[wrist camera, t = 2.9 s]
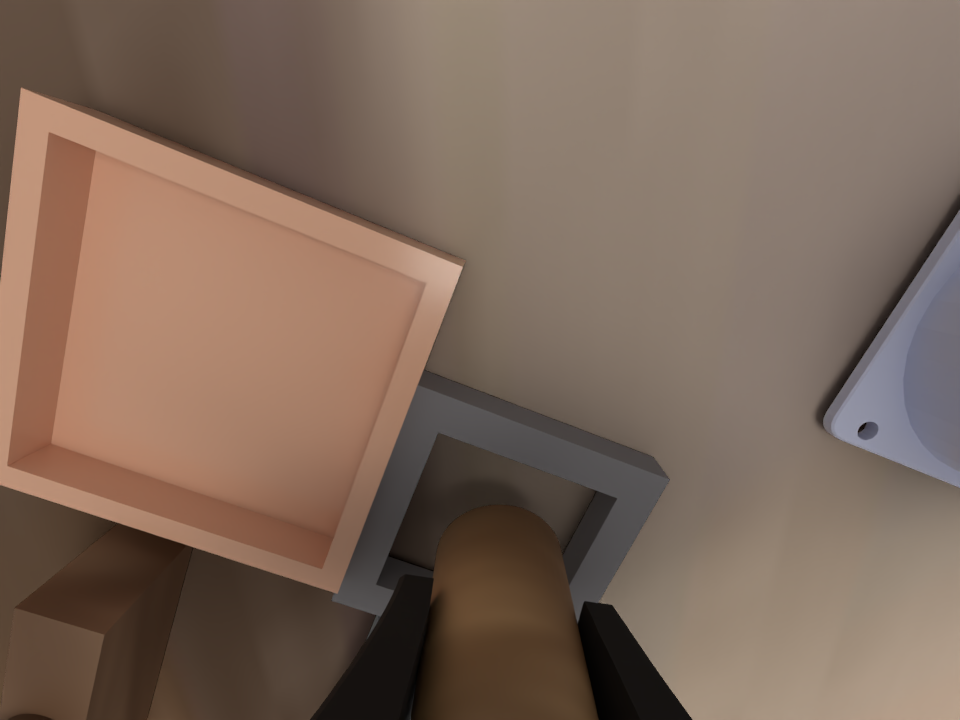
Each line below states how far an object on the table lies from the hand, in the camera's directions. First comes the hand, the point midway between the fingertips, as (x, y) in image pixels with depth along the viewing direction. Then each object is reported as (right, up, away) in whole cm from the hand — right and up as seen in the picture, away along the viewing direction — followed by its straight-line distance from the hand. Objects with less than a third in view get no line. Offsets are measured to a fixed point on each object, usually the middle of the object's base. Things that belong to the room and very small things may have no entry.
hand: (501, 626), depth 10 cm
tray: (-7, +6, +2) cm, 9 cm away
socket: (0, +1, +4) cm, 4 cm away
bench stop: (-11, -3, +5) cm, 13 cm away
